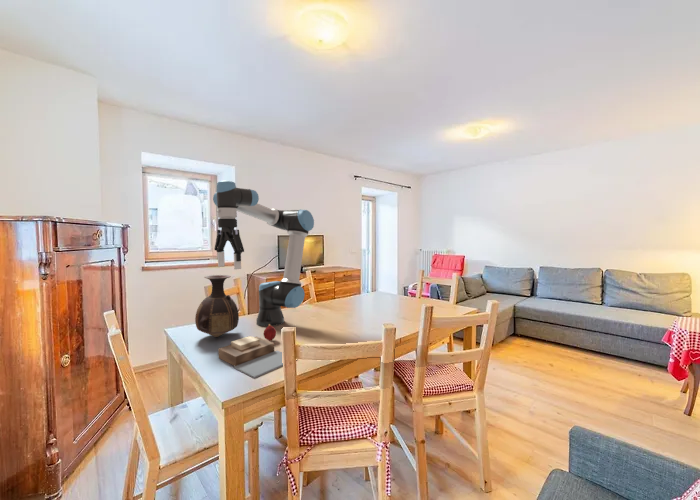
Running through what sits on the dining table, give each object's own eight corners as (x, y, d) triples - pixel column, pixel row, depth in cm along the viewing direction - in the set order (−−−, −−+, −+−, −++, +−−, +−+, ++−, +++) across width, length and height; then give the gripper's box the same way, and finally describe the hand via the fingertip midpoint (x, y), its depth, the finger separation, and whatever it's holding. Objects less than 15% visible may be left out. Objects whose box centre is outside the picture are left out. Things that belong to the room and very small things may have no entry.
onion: (278, 340, 145) (278, 324, 144) (268, 344, 141) (267, 327, 140) (271, 338, 149) (271, 321, 148) (261, 341, 144) (260, 324, 144)
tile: (250, 340, 135) (250, 335, 134) (259, 343, 130) (259, 339, 130) (231, 346, 128) (231, 341, 127) (240, 350, 123) (240, 345, 123)
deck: (256, 345, 140) (256, 336, 139) (274, 352, 131) (274, 343, 131) (218, 358, 126) (218, 348, 125) (235, 366, 117) (235, 356, 117)
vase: (206, 348, 136) (203, 281, 134) (185, 339, 148) (183, 277, 146) (250, 334, 154) (249, 275, 152) (229, 326, 166) (227, 271, 164)
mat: (277, 351, 132) (277, 350, 132) (297, 359, 124) (297, 358, 124) (234, 368, 116) (234, 366, 116) (254, 378, 108) (254, 376, 108)
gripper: (204, 218, 136) (207, 266, 137) (234, 217, 120) (236, 271, 121) (221, 219, 141) (223, 264, 143) (251, 217, 125) (253, 269, 127)
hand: (229, 267), depth 132 cm, fingers open, 13 cm apart
